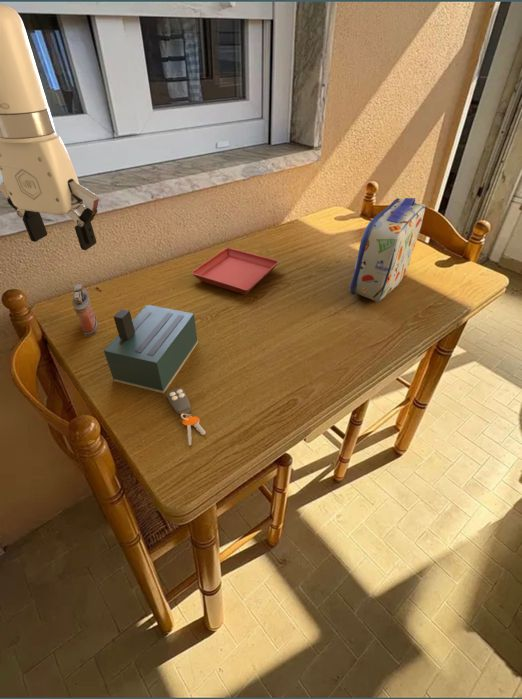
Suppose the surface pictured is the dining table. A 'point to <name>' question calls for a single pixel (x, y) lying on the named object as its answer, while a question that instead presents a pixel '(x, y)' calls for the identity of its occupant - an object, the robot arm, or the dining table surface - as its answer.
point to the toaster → (153, 348)
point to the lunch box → (387, 249)
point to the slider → (124, 324)
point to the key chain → (184, 410)
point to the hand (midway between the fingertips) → (64, 242)
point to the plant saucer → (235, 270)
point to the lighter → (84, 311)
